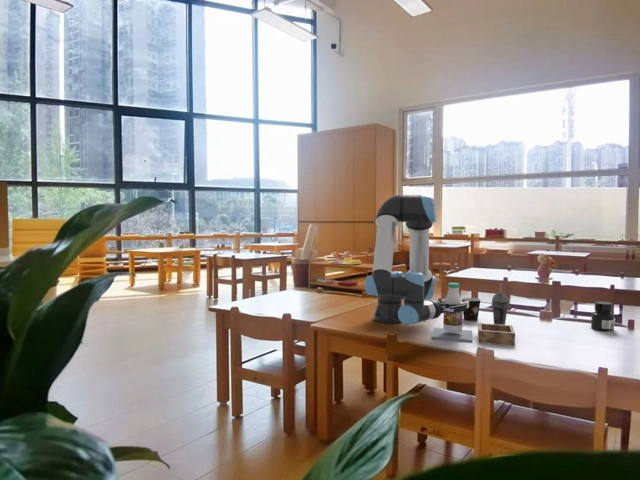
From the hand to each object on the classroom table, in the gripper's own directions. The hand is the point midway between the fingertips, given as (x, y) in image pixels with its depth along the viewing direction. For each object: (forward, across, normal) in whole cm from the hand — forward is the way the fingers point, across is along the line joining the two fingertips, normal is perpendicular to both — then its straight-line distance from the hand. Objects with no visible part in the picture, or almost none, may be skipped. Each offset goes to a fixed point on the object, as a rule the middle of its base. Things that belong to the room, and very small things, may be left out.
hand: (459, 302), depth 201 cm
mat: (-5, 0, -14) cm, 14 cm away
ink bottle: (+57, +38, -14) cm, 70 cm away
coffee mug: (+28, -12, -14) cm, 33 cm away
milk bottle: (-5, 0, -11) cm, 12 cm away
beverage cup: (+26, +5, -14) cm, 30 cm away
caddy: (+3, +15, -14) cm, 21 cm away
